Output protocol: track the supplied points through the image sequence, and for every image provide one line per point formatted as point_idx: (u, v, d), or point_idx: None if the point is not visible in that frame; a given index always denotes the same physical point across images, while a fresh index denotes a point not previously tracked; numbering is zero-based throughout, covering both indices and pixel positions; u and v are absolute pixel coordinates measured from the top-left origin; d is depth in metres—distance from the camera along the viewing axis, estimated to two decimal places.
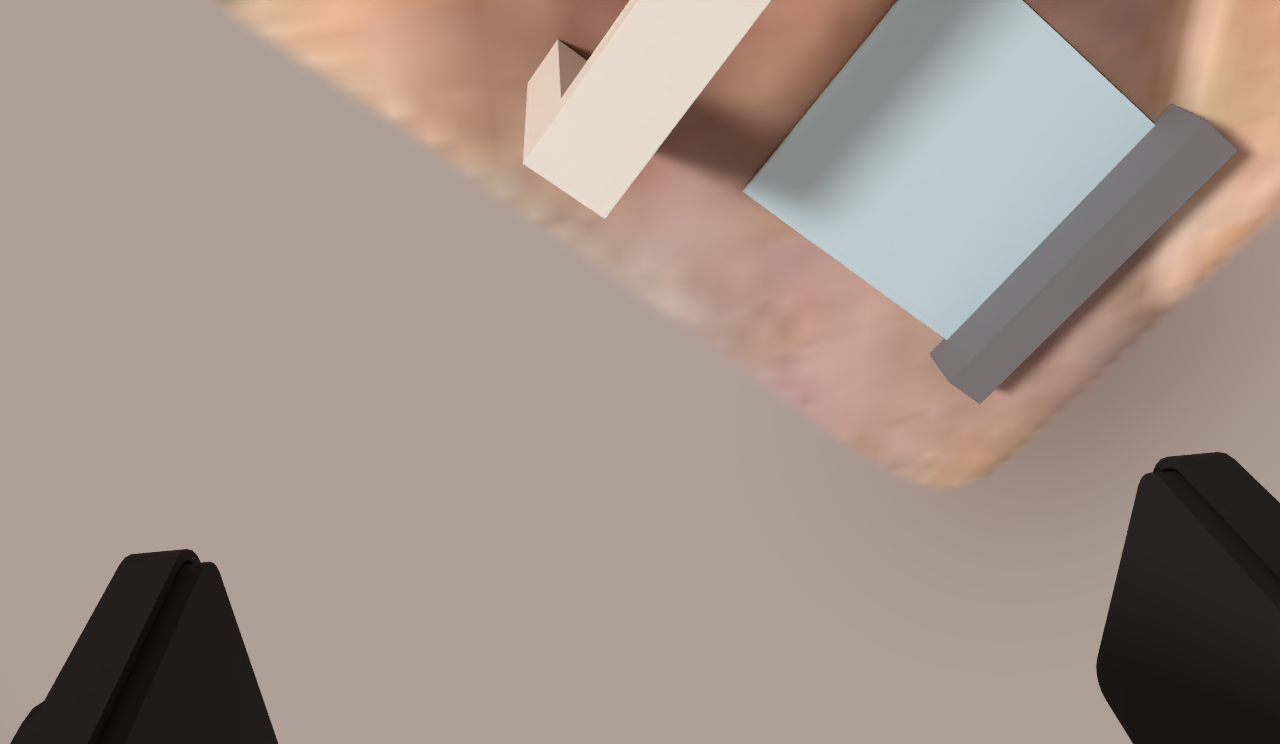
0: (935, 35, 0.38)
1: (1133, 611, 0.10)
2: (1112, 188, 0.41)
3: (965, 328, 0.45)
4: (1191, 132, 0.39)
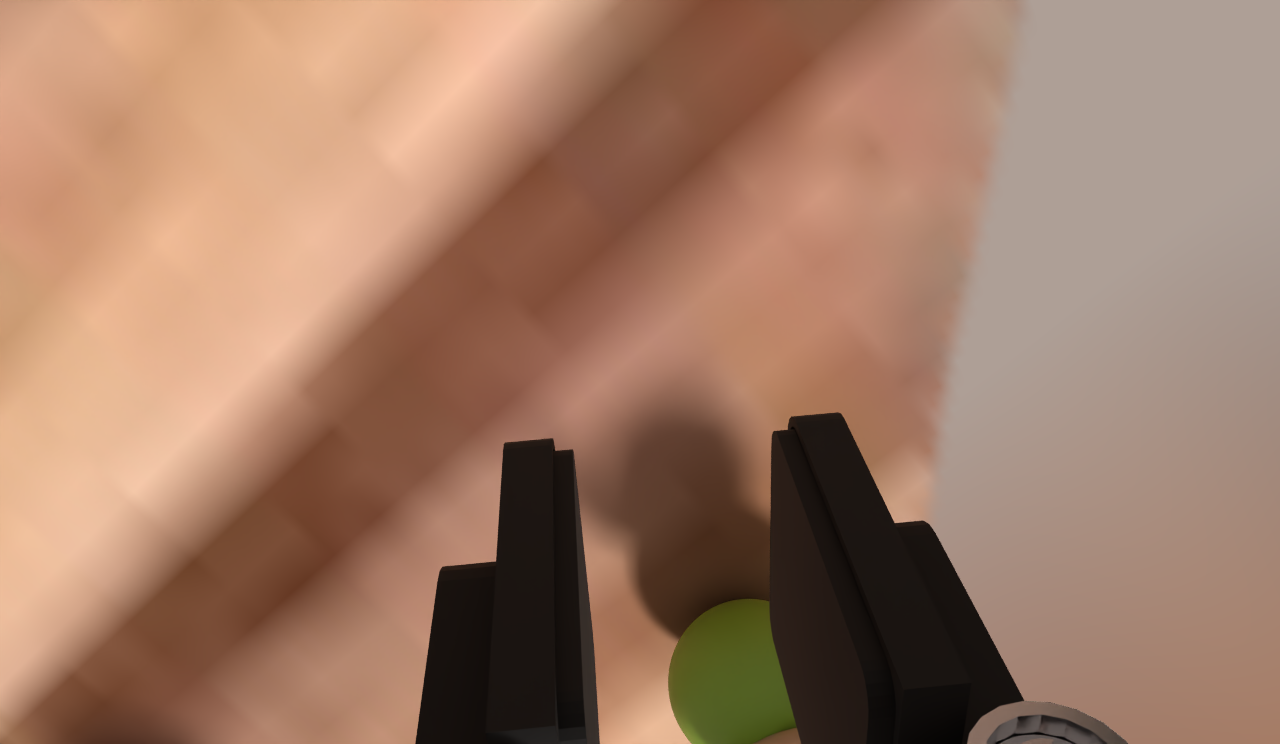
0: None
1: (777, 559, 0.11)
2: None
3: None
4: None
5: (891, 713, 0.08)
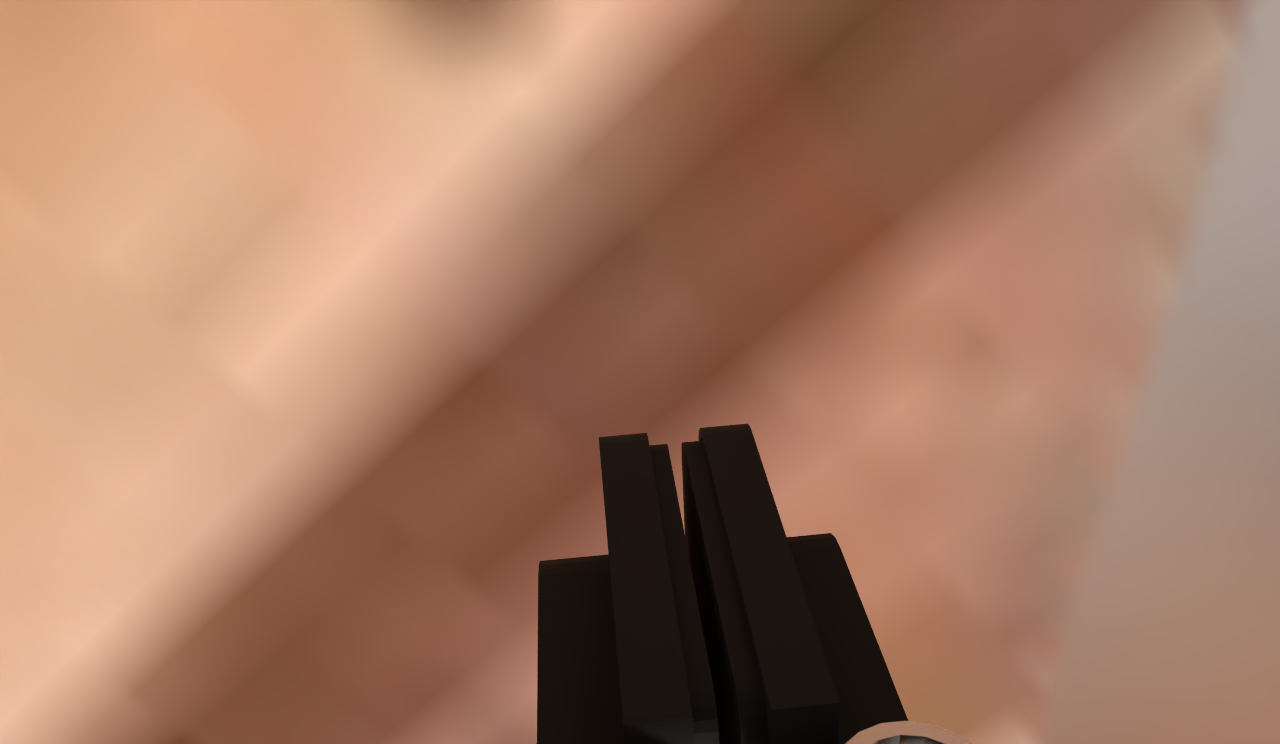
0: None
1: None
2: None
3: None
4: None
5: (763, 732, 0.07)
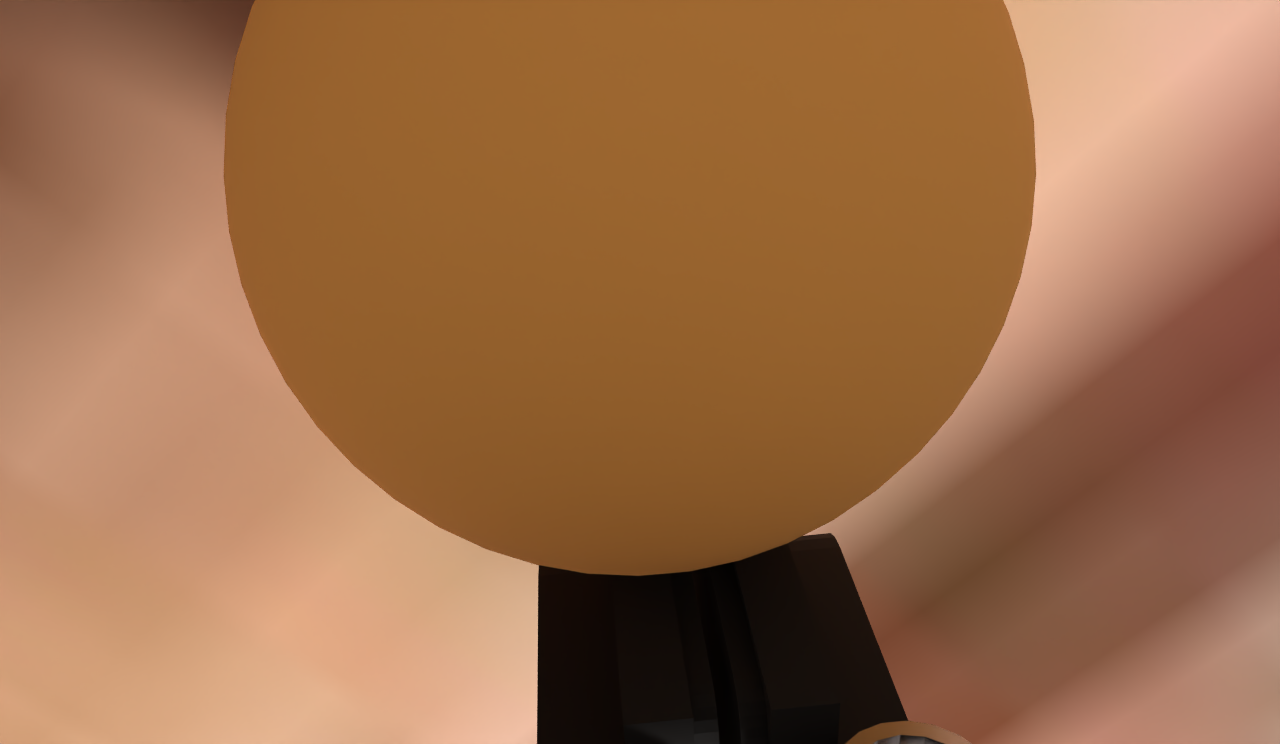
0: None
1: None
2: None
3: None
4: None
5: (763, 732, 0.07)
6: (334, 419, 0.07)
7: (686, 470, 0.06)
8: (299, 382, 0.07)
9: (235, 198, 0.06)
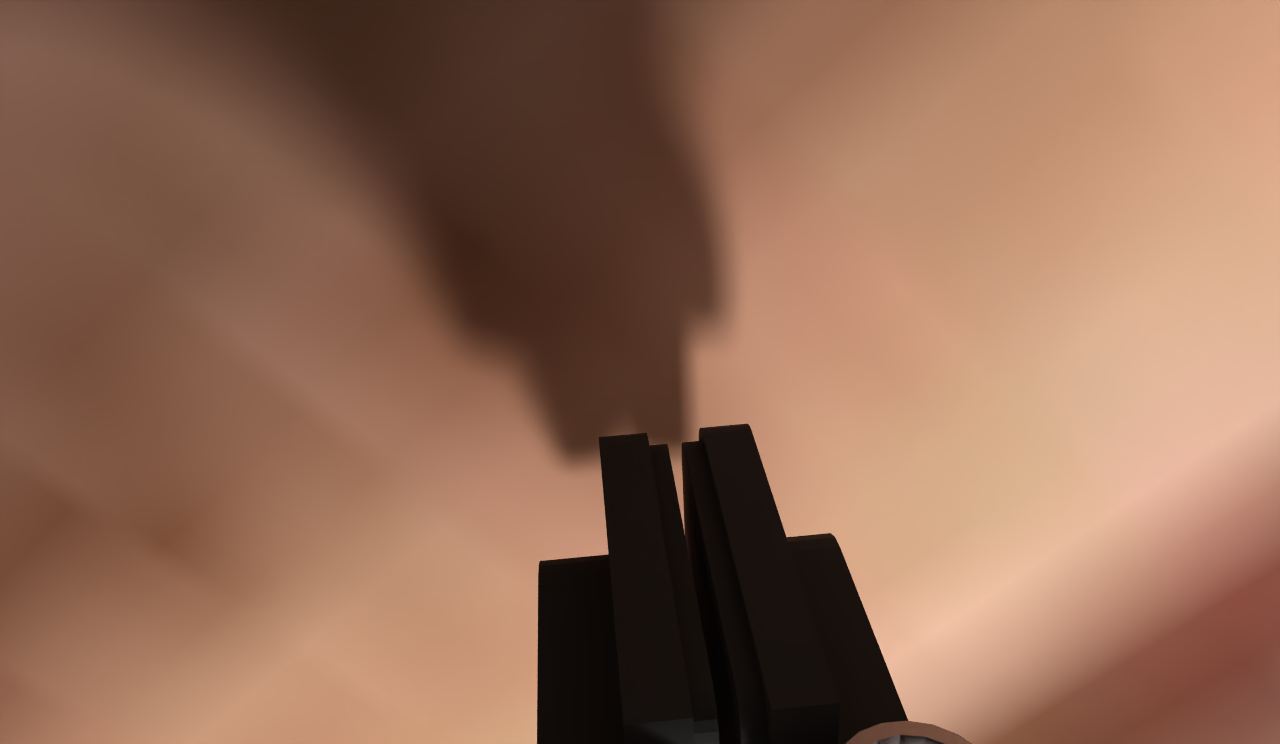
0: None
1: None
2: None
3: None
4: None
5: (763, 733, 0.07)
6: None
7: None
8: None
9: None
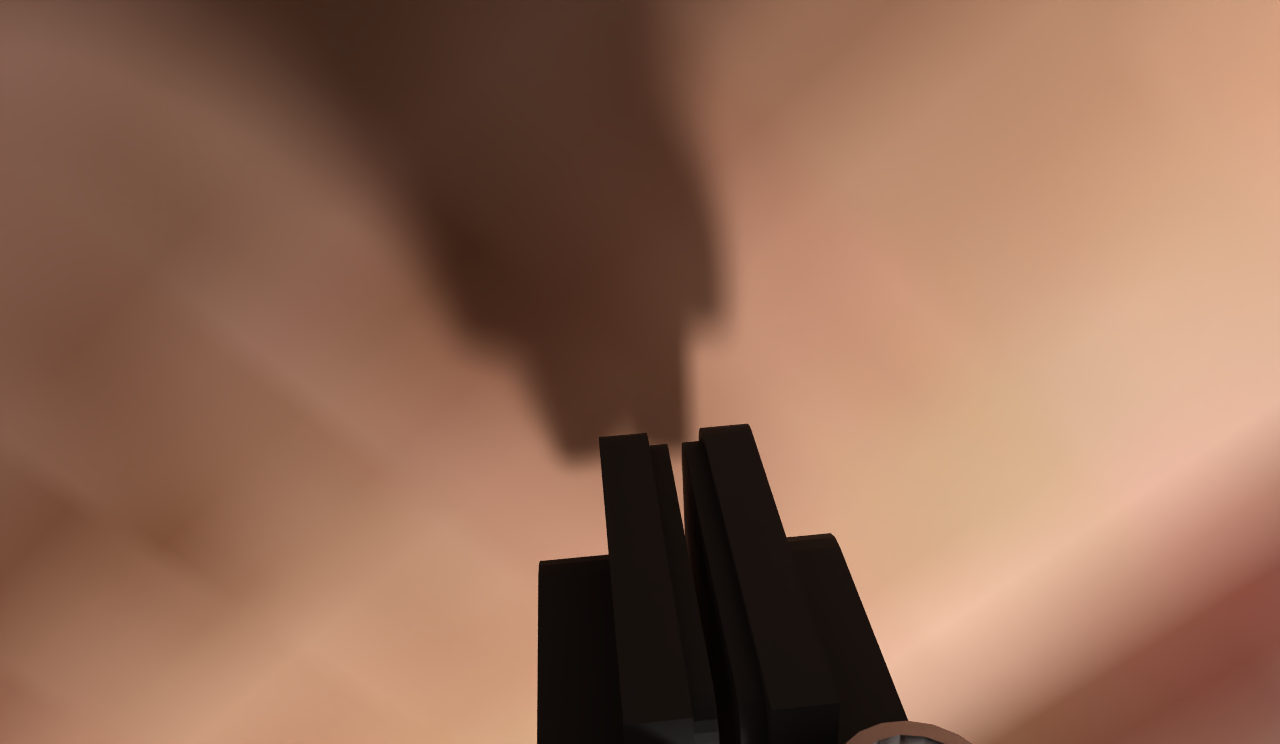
0: None
1: None
2: None
3: None
4: None
5: (763, 733, 0.07)
6: None
7: None
8: None
9: None
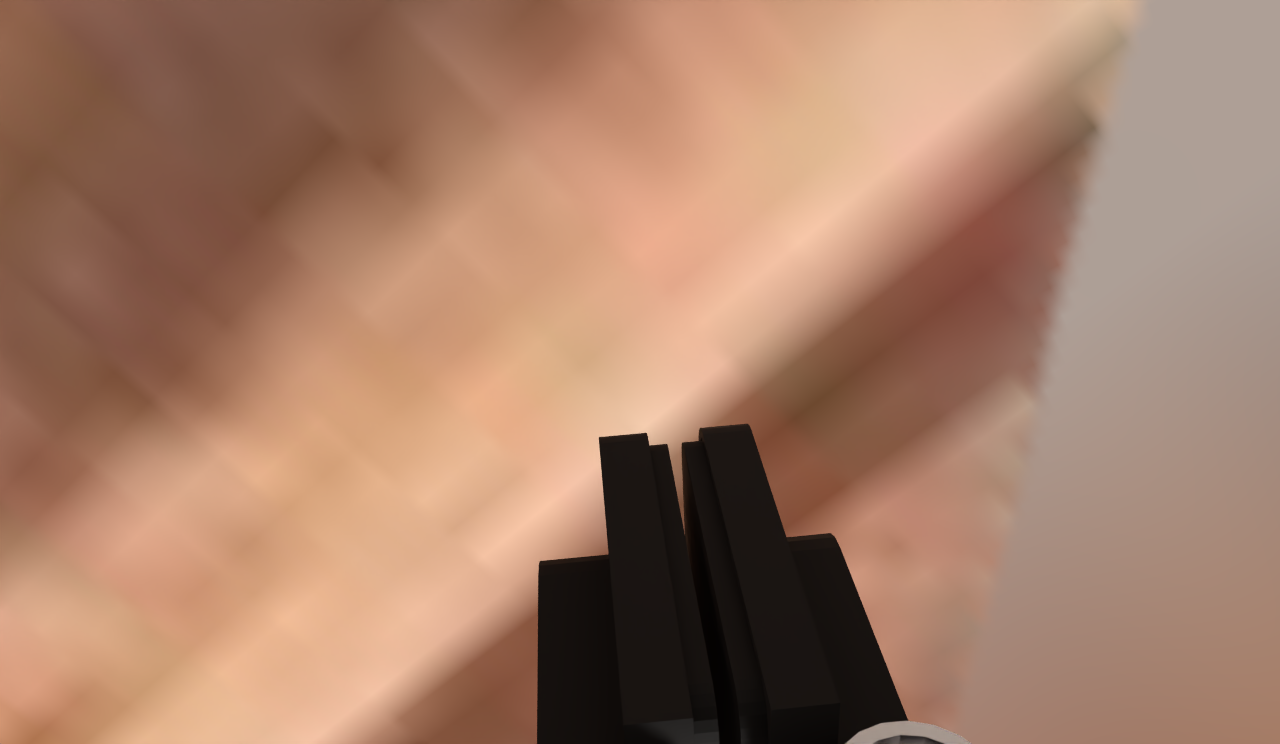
0: None
1: None
2: None
3: None
4: None
5: (763, 733, 0.07)
6: None
7: None
8: None
9: None
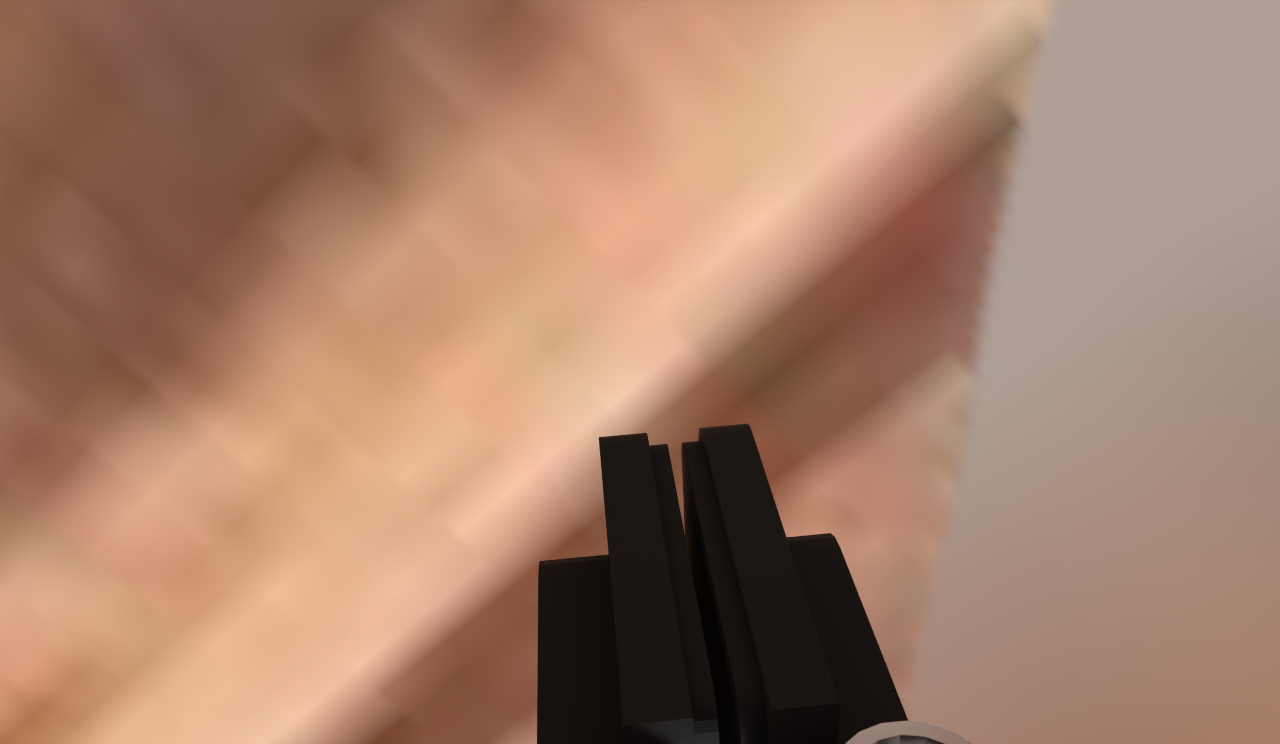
0: None
1: None
2: None
3: None
4: None
5: (763, 733, 0.07)
6: None
7: None
8: None
9: None
